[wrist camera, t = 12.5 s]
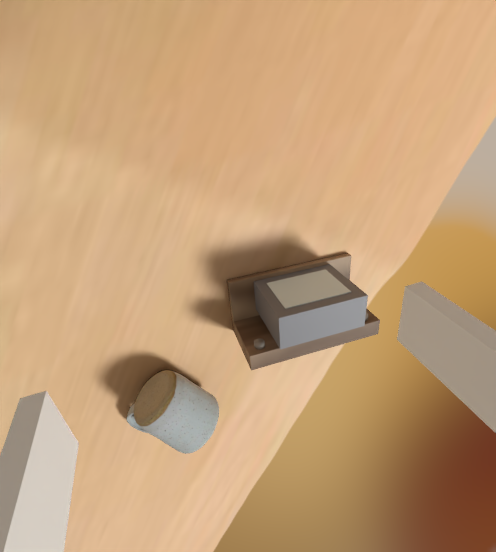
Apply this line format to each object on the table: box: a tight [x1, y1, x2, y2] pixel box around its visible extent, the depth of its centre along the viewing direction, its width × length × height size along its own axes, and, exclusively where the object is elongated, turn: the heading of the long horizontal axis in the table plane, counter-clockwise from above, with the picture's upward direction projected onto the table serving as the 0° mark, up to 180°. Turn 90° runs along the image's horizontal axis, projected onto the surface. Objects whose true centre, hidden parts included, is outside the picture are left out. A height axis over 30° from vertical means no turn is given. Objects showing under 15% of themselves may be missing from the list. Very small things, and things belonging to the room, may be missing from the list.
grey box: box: [254, 264, 368, 349], centre depth 39 cm, size 4×10×8 cm, turn 95°
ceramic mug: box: [127, 370, 219, 454], centre depth 42 cm, size 11×8×8 cm
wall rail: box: [227, 253, 380, 370], centre depth 40 cm, size 8×16×8 cm, turn 95°
